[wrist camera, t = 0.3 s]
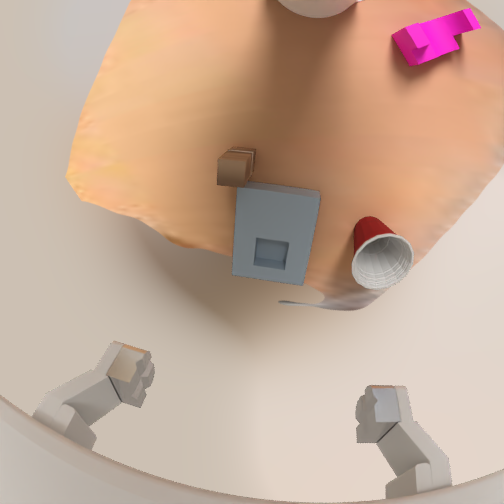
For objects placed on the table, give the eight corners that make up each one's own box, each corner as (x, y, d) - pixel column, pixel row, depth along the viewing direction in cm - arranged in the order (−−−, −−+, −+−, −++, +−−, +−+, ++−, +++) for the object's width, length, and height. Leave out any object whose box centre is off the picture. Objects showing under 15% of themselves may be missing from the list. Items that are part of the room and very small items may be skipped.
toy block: (409, 66, 37) (425, 63, 30) (390, 35, 34) (405, 27, 28) (467, 44, 31) (488, 41, 25) (450, 15, 29) (470, 8, 22)
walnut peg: (232, 146, 49) (217, 158, 41) (256, 148, 49) (246, 161, 40) (230, 168, 51) (216, 185, 43) (253, 171, 51) (244, 188, 42)
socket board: (241, 180, 52) (237, 186, 49) (319, 191, 51) (320, 198, 48) (235, 264, 61) (231, 275, 58) (303, 274, 60) (302, 285, 57)
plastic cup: (363, 264, 57) (374, 302, 47) (330, 228, 54) (337, 263, 44) (405, 232, 52) (425, 266, 42) (374, 192, 49) (393, 220, 39)
